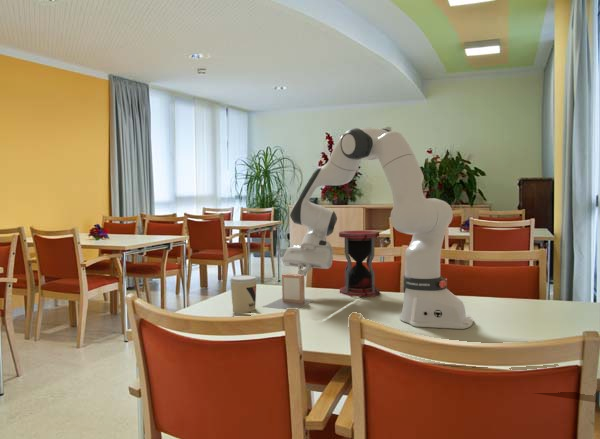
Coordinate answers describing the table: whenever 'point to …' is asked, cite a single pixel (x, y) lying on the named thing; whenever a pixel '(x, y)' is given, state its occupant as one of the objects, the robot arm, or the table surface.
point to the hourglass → (359, 263)
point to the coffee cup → (243, 293)
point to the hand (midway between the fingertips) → (301, 274)
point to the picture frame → (293, 288)
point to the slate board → (286, 304)
